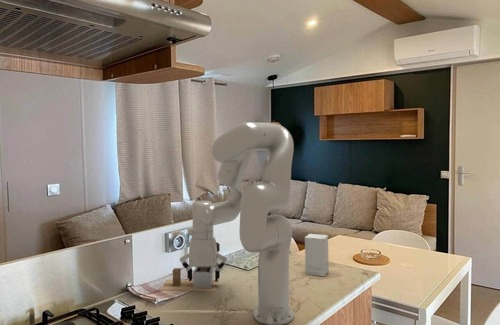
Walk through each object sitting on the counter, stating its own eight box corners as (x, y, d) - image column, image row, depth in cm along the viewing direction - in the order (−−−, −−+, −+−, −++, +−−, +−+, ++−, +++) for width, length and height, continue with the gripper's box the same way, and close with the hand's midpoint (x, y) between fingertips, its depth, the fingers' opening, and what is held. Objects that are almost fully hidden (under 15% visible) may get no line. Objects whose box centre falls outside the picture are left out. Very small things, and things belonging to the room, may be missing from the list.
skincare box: (329, 272, 157) (329, 235, 156) (324, 277, 151) (324, 238, 150) (309, 269, 161) (309, 232, 160) (304, 274, 155) (304, 236, 154)
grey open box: (211, 288, 138) (211, 272, 137) (193, 288, 138) (193, 272, 138) (213, 282, 144) (213, 266, 144) (196, 281, 145) (196, 266, 144)
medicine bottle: (222, 273, 157) (222, 244, 156) (205, 274, 155) (204, 245, 154) (219, 267, 163) (219, 240, 163) (202, 269, 162) (202, 241, 161)
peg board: (215, 293, 136) (215, 274, 136) (160, 293, 137) (159, 274, 136) (218, 282, 146) (218, 264, 146) (166, 282, 147) (166, 264, 146)
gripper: (177, 237, 136) (178, 284, 138) (225, 237, 136) (226, 284, 137) (181, 232, 144) (182, 276, 145) (227, 232, 143) (227, 276, 145)
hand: (203, 280), depth 141 cm, fingers open, 9 cm apart
